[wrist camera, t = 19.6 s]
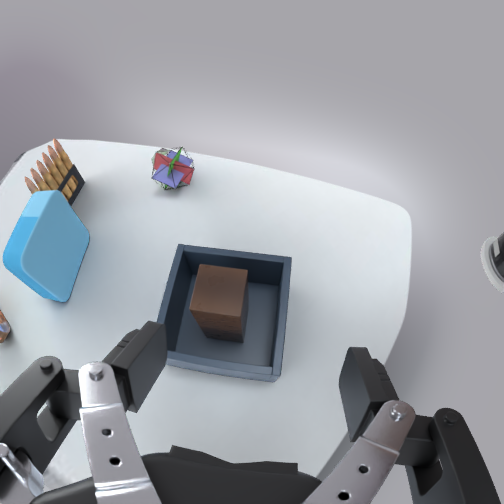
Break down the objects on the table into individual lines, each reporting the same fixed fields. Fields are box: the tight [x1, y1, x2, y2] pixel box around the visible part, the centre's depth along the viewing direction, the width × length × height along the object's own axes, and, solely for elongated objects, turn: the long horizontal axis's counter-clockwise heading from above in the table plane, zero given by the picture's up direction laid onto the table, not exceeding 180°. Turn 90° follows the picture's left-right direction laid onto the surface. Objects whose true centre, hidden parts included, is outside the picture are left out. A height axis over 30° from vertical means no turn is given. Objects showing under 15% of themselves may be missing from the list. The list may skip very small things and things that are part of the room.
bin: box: [157, 244, 292, 382], centre depth 31 cm, size 13×13×7 cm
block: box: [189, 264, 249, 343], centre depth 29 cm, size 4×4×10 cm
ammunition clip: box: [25, 139, 85, 206], centre depth 39 cm, size 11×2×12 cm, turn 172°
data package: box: [3, 190, 89, 302], centre depth 32 cm, size 12×4×12 cm, turn 175°
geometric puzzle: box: [151, 147, 195, 190], centre depth 43 cm, size 7×7×8 cm
